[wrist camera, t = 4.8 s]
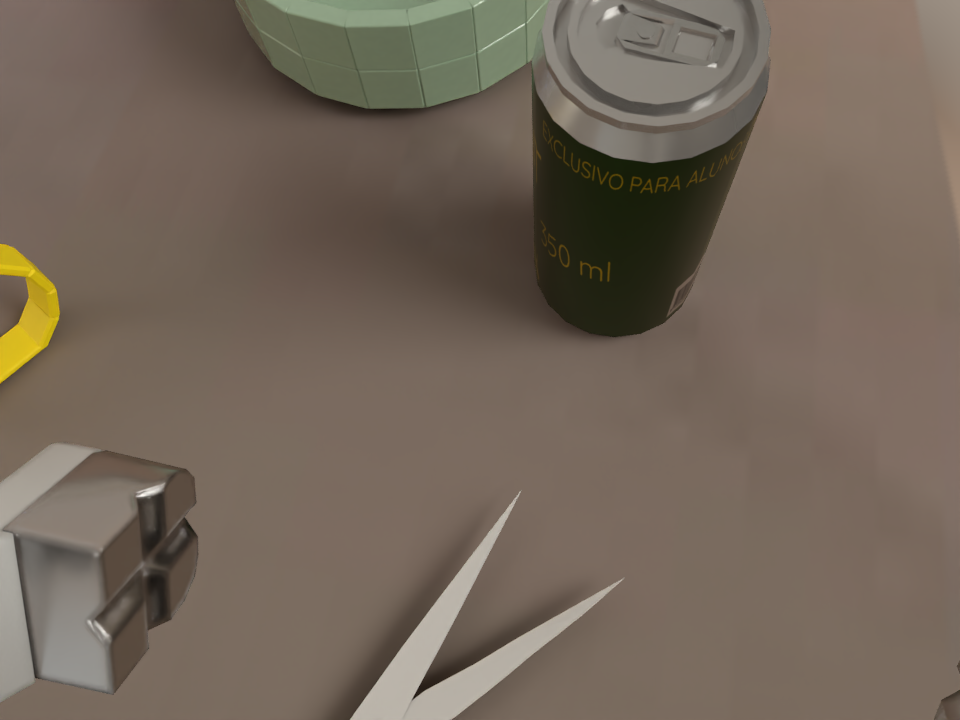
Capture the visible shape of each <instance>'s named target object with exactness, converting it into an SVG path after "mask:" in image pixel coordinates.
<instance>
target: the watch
mask: <svg viewBox="0 0 960 720" xmlns="http://www.w3.org/2000/svg"><path fill="white" fill-rule="evenodd" d="M0 275H10V276H21V277H26V282H27V288H28V293H29V298H28V301H27V303H26V306H25V308H24V311H23V313H22V316H21V318H20V321H19V323H18V324H17V325H16V326H14V327H13V328H12V329H11V330H9V331H8V332H7V333H6V334H4V335H3V336H2V337H0V383H2V382H3V381H4V380H5V379H7V378H8V377H9V376H10V375H12V374H13V373H14V372H15V371H17V370H18V369H19V368H20V367H22V366H23V365H24V364H25V363H26V362H28V361H29V360H30V359H31V358H33V357H34V356H35V355H36V354H38V353H39V352H40V351H41V350H43V349H44V348H45V347H47V346H48V343H49V341H50V339H51V336H52V334H53V331H54V329H55V327H56V324H57V322H58V320H59V317H58V316H59V315H60V309H59V303H58V296H57V289H56V288H55V287H54V284H53V283H52V282H51V281H50V280H49V279H48V278H47V277H46V276H45V275H44V274H43V273H42V272H41V271H40V270H39V269H38V268H37V267H36V266H35V265H34V264H33V263H32V262H30V261H29V260H28V259H27V258H26V257H24V256H23V255H22V254H21V253H20V252H18V251H17V250H16V249H15V248H14V247H9V246H8V245H5V244H0Z"/></svg>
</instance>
